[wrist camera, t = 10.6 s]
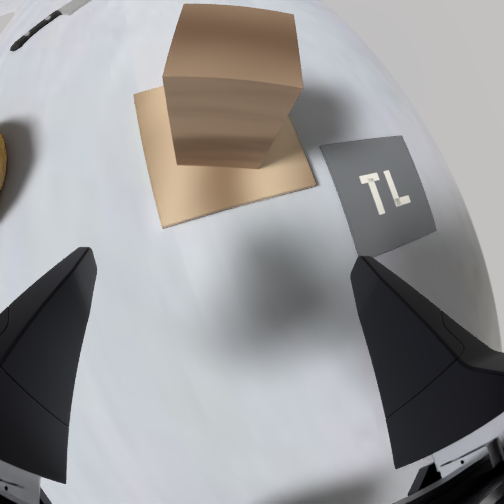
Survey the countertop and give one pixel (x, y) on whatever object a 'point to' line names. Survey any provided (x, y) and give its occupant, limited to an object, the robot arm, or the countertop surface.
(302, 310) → the countertop surface
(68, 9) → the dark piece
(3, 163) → the bagel
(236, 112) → the walnut block
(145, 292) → the countertop surface
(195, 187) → the coaster
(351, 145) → the gray mat
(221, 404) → the countertop surface
